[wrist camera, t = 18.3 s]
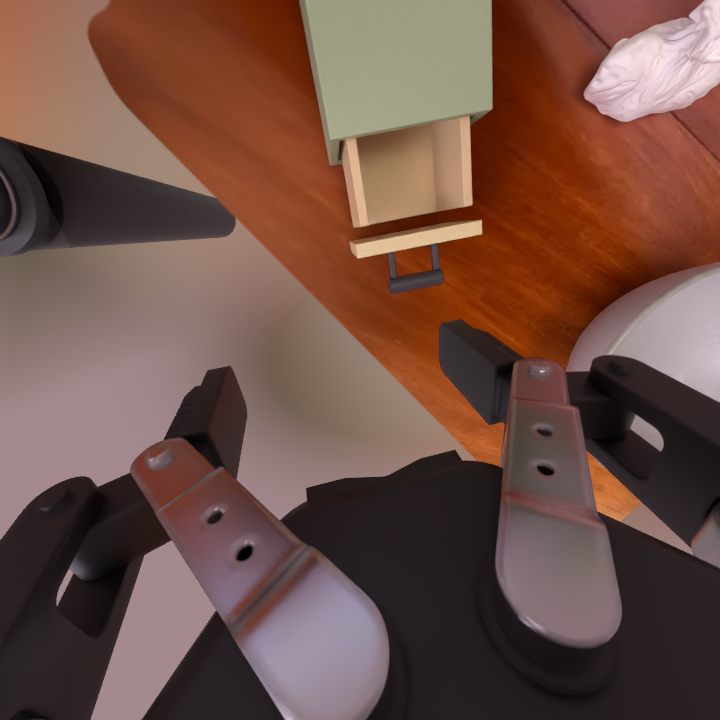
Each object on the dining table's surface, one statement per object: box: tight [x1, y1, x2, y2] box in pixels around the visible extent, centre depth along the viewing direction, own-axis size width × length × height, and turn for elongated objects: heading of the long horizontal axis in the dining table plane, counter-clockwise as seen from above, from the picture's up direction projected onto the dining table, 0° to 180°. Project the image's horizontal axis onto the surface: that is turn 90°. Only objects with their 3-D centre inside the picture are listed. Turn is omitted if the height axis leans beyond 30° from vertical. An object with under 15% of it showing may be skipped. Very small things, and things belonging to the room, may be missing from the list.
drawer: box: [339, 116, 482, 294], centre depth 30 cm, size 18×11×9 cm, turn 10°
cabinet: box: [299, 0, 492, 166], centre depth 26 cm, size 15×13×11 cm
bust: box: [584, 0, 720, 122], centre depth 28 cm, size 12×8×11 cm
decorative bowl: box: [566, 262, 720, 469], centre depth 40 cm, size 27×27×12 cm
